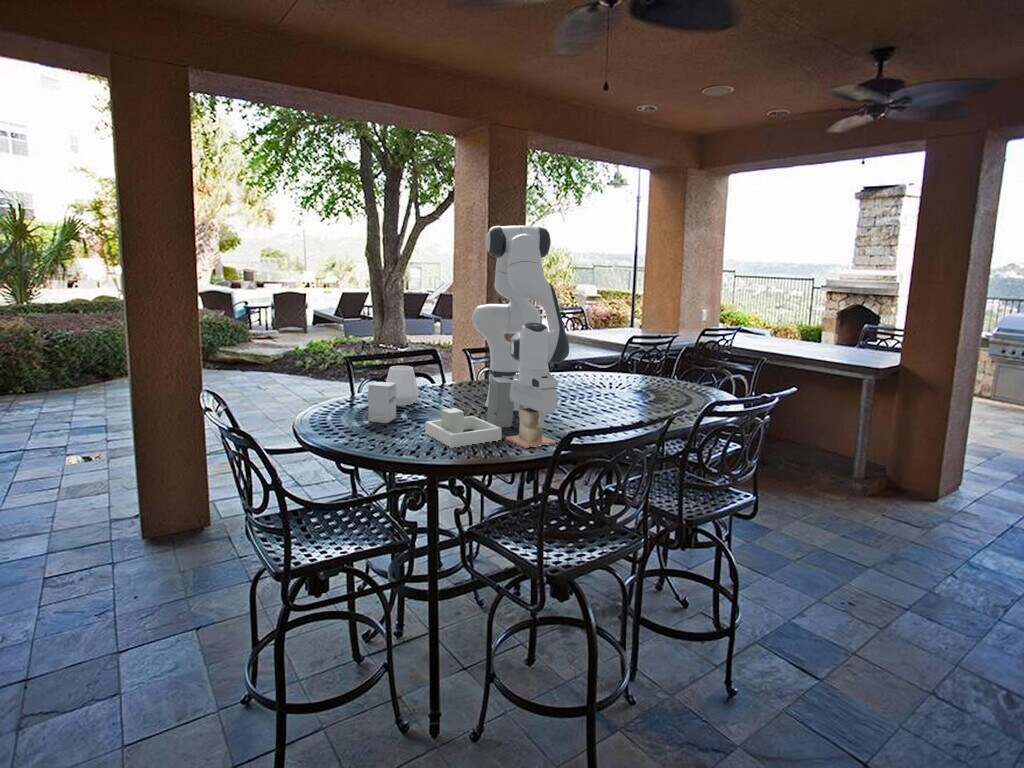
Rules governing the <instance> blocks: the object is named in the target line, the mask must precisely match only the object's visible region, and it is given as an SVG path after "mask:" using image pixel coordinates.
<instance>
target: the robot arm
mask: <svg viewBox="0 0 1024 768" xmlns="http://www.w3.org/2000/svg"><path fill="white" fill-rule="evenodd" d="M550 234H551V233H550V232H549V231H548V229H546V228H544V227H541V226H531V225H530V226H529V225H521V224H518V225H505V226H504V225H503V226H501V225H494V226H491V227H490V228H489V229H488V231H487V234H486V236H485V246H486V247H485V249H487V250H486V251H487V253H488V254H489V256H491V257H492V258H493V257H494V258H496V264H495V274H494V290H495V291H496V293H497V294H499V295H500V296H501V297H503V298H505V299H507V300H508V301H509V302H508V303H486V304H485V303H484V304H479V305H478V306H476V307H475V309H474V310H473V312H472V314H471V315H472V316H471V322H472V323H471V324H472V325H473V327H474V329H475V330H476V332H478V333H480V334H481V335H482V336H483V337H484V339H485V340H486V342H487V345H488V349H489V357H490V358H489V359H490V367H489V368H490V369H489V370H488V391H487V398H486V401H485V404H484V406H485V407H486V408H488V401H489V390H490V378H491V377H507V378H509V379H511V380H512V382H511V387H510V400H511V401H512V402H514V410H513V412H518V418H519V419H520V410H521V409H525V408H531V409H534V410H536V411H539V415H540V416H539V419H537V423H536V424H537V425H539V426H542V427H543V426H544V425H545V419H546V418H547V417H548V414H555V412H556V411H557V409H558V408H557V407H558V391H557V389H556V388H558V387H559V381H558V380H557V378H556V377H554V376H553V375H552V374H551V373H550V372H549V364H554V365H555V364H557V365H559V364H561V363H562V362H564V361H565V360H566V359H567V358H568V357H569V354H570V343H569V339H568V336H567V334H566V329H565V328H564V323H563V319H562V314H561V310H560V305H559V302H558V298H557V297H558V296H557V295H556V291H555V288H554V286H553V284H552V283H550V282H549V281H548V280H547V279H546V277H545V275H544V272H543V263H542V258H545V257H546V256H547V255H548V254H549V253H550V249H551V246H552V239H551V235H550ZM530 300H532V301H534V302H536V303H538V304H539V305H540V306H541V307H542V308H543V310H544V312H545V313H544V314H545V317H546V320H547V325H548V326H546V325H545V324H544V323H541V321H542V320H541V314H540V311H539V309H538V308H537V307H536V306H535V305H533V303H532V302H531V301H530ZM506 334H514V335H512V336H511V338H510V341H508V340H506V337H505V335H506Z"/></svg>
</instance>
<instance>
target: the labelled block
mask: <svg viewBox="0 0 1024 768" xmlns="http://www.w3.org/2000/svg"><path fill="white" fill-rule="evenodd" d="M539 416H540V415H539V411H536V410H534V409H531V408H525V409H521V410H520V418H519V431H518V435H519V438H520V439H523V440H525V441H527V442H532V441H538V440H542V436H543V426H539V425H537V424H536V423H537V419H539Z"/></svg>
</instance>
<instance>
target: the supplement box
mask: <svg viewBox="0 0 1024 768" xmlns="http://www.w3.org/2000/svg"><path fill="white" fill-rule="evenodd" d="M367 390H368V391H367V393H368V396H367V397H368V403H367V404H368V407H367V408H368V409H367V410H368V411H367V412H368V416H367V417H368V422H370V421H371V422H372V423H381V424H382V423H383V424H389V423H390V422H392V421H394V420H396V419H397V406H396V383H390V382H385V381H376V382H373V383H372V384H368V386H367ZM395 418H396V419H395Z"/></svg>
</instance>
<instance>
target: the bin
mask: <svg viewBox="0 0 1024 768" xmlns="http://www.w3.org/2000/svg"><path fill="white" fill-rule="evenodd" d="M424 422H425V428H424V429H425V431H424V432H425V433H426V434H428V435H429V436H428V435H427V436H428V437H430V436H431V437H430V438H432V437H433V438H432V439H434V438H435V439H436V441H437V440H438V441H437V442H439V441H440V442H439V443H441V442H442V443H441V444H443V445H444V444H445V445H444V446H446V445H447V447H448V446H449V447H448V448H450V449H453V448H454V447H456V448H462V447H461V446H463V447H467V446H466V445H469V446H473V445H472V444H476V445H479V444H478V443H483V444H486V443H485V442H490V443H493V442H492V441H496V442H499V441H498V440H501V441H502V434H503V433H502V430H503V429H502V428H503V427H498V426H495V425H493V424H491V423H489V422H487V420H484V419H481V418H479V417H477V416H475V415H470V416H469V415H468V416H464V426H463V432H461V433H454V434H453V433H451V432H449V431H447V430H445V429H443V428H441V419H435V420H429V421H428V420H427V421H424ZM467 430H468V431H467ZM469 430H471V431H469ZM426 434H425V435H426ZM435 439H434V440H435ZM454 449H455V448H454Z"/></svg>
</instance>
